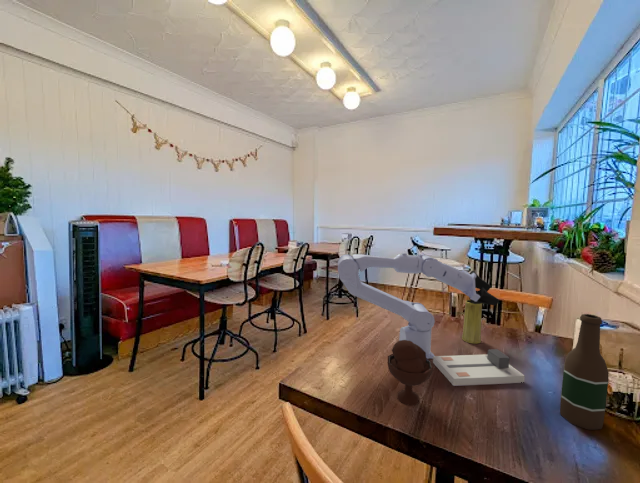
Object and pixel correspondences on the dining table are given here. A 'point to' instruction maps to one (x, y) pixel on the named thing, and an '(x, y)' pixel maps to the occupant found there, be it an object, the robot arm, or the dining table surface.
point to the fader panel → (475, 370)
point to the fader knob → (498, 358)
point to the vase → (472, 323)
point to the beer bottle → (585, 378)
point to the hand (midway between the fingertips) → (493, 295)
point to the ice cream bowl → (409, 369)
